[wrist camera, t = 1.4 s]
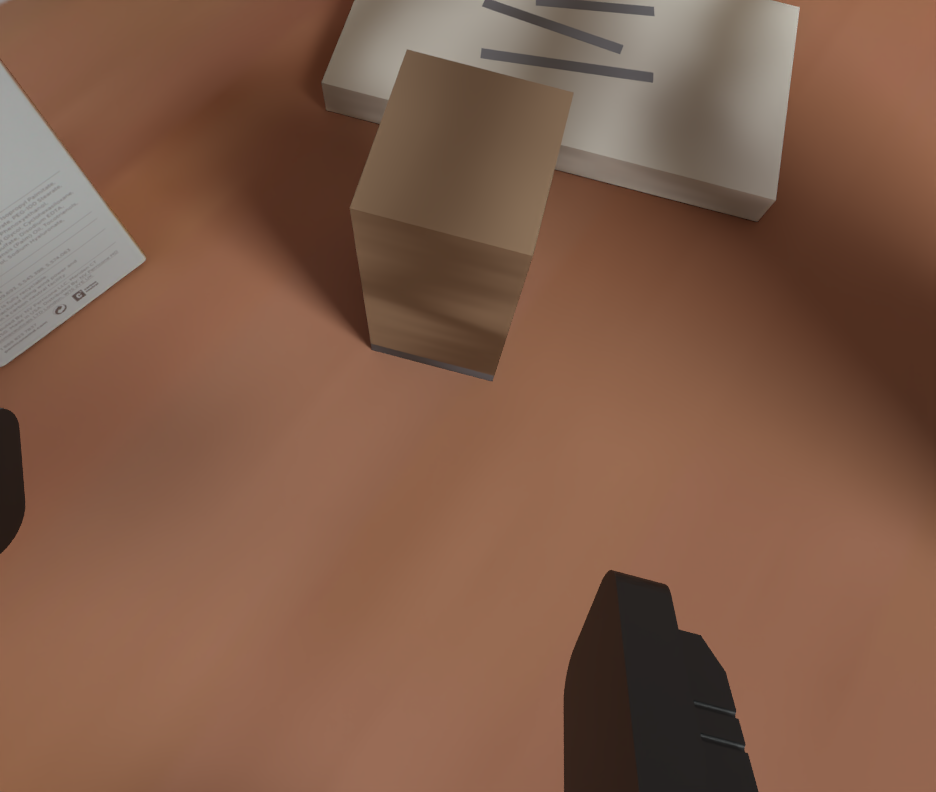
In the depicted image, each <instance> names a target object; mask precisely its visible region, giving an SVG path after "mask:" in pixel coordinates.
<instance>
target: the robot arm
mask: <svg viewBox="0 0 936 792" xmlns="http://www.w3.org/2000/svg"><path fill="white" fill-rule="evenodd" d="M24 512H25V494H24V481H23V468H22V455H21V443H20V430H19V423H18V420H17V418H16V416H15V415H14V414H13V413H12V412H11V411H9V410H7V409H3V408H0V554H1V553H2V552H3V551H4V550H5V549H6V548H7V547H8V545H9V544H10V543H11V542H12V540H13V539H14V537H15V536H16V534H17V532H18V530H19V528H20V526H21V523H22V520H23V517H24ZM735 713H736V708H735V705H734V701H733V697H732V694H731V690H730V686H729V683H728V679H727V675H726V672H725V671H724V669H723V668H722V666H721V665H720V663H719V662H718V660H717V659H716V657H715V656H714V654H713V653H712V651H711V650H710V648H709V647H708V646H707V644H706V643H705V641H704V640H703V638H702V637H701V635H697V634H693V633H690V632H686V631H682V630H678V625H677V621H676V616H675V611H674V606H673V602H672V597H671V593H670V590H669V588H668V586H667V585H665V584H662V583H658V582H655V581H651V580H647V579H643V578H639V577H636V576H632V575H628V574H624V573H620V572H617V571H613V570H610V571H608V572H607V573H606V575H605V576H604V578H603V580H602V582H601V584H600V587H599V589H598V592H597V594H596V596H595V599H594V601H593V604H592V606H591V608H590V611H589V613H588V616H587V618H586V621H585V623H584V625H583V628H582V630H581V633H580V635H579V637H578V640H577V642H576V645H575V647H574V650H573V652H572V655H571V658H570V662H569V666H568V670H567V675H566V681H565V689H564V792H758V789H757V785H756V781H755V778H754V774H753V770H752V767H751V763H750V759H749V756H748V753H745V751H744V747H745V741H744V737H743V734H742V730H741V727H740V723H739V719H736V718H735Z"/></svg>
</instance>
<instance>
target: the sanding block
mask: <svg viewBox="0 0 936 792" xmlns="http://www.w3.org/2000/svg"><path fill="white" fill-rule="evenodd" d="M573 94H574V92H570V91H566V90H562V89H558V88H555V87H551V86H547V85H543V84H539V83H535V82H531V81H527V80H524V79H520V78H516V77H512V76H508V75H504V74H500V73H497V72H493V71H489V70H485V69H481V68H477V67H473V66H470V65H466V64H462V63H458V62H454V61H450V60H446V59H443V58H439V57H435V56H431V55H427V54H423V53H419V52H415V51H412V50H408V49H407V50H406V53H405V56H404V59H403V61H402V64H401V67H400V70H399V72H398V75H397V78H396V81H395V84H394V86H393V89H392V92H391V95H390V97H389V100H388V103H387V106H386V109H385V111H384V114H383V117H382V120H381V122H380V125H379V128H378V131H377V134H376V136H375V139H374V142H373V145H372V147H371V150H370V153H369V156H368V159H367V161H366V164H365V167H364V170H363V172H362V175H361V178H360V181H359V184H358V186H357V189H356V192H355V195H354V197H353V200H352V203H351V206H350V214H351V220H352V226H353V233H354V239H355V246H356V252H357V258H358V265H359V271H360V277H361V284H362V290H363V297H364V303H365V309H366V316H367V322H368V328H369V335H370V341H371V348H372V350H374V351H378V352H382V353H386V354H390V355H393V356H397V357H401V358H405V359H409V360H412V361H416V362H420V363H424V364H428V365H431V366H435V367H439V368H443V369H447V370H450V371H454V372H458V373H462V374H466V375H469V376H473V377H477V378H481V379H485V380H488V381H493V378H494V375H495V372H496V369H497V365H498V362H499V359H500V356H501V353H502V350H503V347H504V344H505V341H506V338H507V335H508V331H509V328H510V325H511V322H512V319H513V316H514V313H515V310H516V307H517V304H518V300H519V297H520V294H521V291H522V288H523V285H524V282H525V279H526V276H527V273H528V270H529V266H530V263H531V260H532V257H533V254H534V250H535V246H536V242H537V238H538V234H539V230H540V226H541V222H542V218H543V214H544V210H545V206H546V202H547V198H548V194H549V190H550V186H551V182H552V178H553V174H554V170H555V166H556V162H557V158H558V154H559V150H560V146H561V142H562V138H563V134H564V130H565V126H566V122H567V118H568V114H569V110H570V106H571V102H572V98H573Z"/></svg>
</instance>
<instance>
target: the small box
mask: <svg viewBox="0 0 936 792" xmlns="http://www.w3.org/2000/svg"><path fill="white" fill-rule="evenodd" d="M145 260H146V256H145V254H144V253H143V252H142V250H141V249H140V247H139V246H138V245H137V243H136V242H135V240H134V239H133V238H132V236H131V235H130V234H129V232H128V231H127V230H126V228H125V227H124V225H123V224H122V223H121V221H120V220H119V219H118V217H117V216H116V215H115V213H114V212H113V211H112V209H111V208H110V207H109V205H108V204H107V203H106V202H105V200H104V199H103V198H102V196H101V195H100V194H99V193H98V191H97V190H96V189H95V187H94V186H93V185H92V183H91V182H90V181H89V179H88V178H87V177H86V175H85V174H84V172H83V171H82V170H81V168H80V167H79V165H78V164H77V163H76V161H75V160H74V159H73V157H72V156H71V154H70V153H69V152H68V150H67V149H66V147H65V146H64V145H63V143H62V142H61V140H60V139H59V138H58V136H57V135H56V134H55V132H54V131H53V129H52V128H51V127H50V125H49V124H48V123H47V121H46V120H45V119H44V117H43V116H42V114H41V113H40V112H39V110H38V109H37V108H36V106H35V105H34V104H33V102H32V101H31V99H30V98H29V97H28V95H27V94H26V93H25V91H24V90H23V89H22V87H21V86H20V85H19V83H18V82H17V80H16V79H15V78H14V76H13V75H12V74H11V72H10V71H9V70H8V68H7V67H6V66H5V64H4V63H3V61H2V60H1V59H0V367H2V366H4V365H6V364H8V363H9V362H10V361H12V360H13V359H14V358H16V357H17V356H18V355H20V354H21V353H23V352H24V351H25V350H27V349H28V348H29V347H31V346H32V345H33V344H35V343H36V342H37V341H39V340H40V339H42V338H43V337H44V336H46V335H47V334H48V333H50V332H51V331H52V330H54V329H55V328H56V327H58V326H59V325H60V324H62V323H63V322H65V321H66V320H67V319H69V318H70V317H71V316H72V315H74V314H75V313H77V312H78V311H79V310H81V309H82V308H83V307H85V306H86V305H87V304H89V303H90V302H91V301H93V300H94V299H95V298H97V297H98V296H99V295H101V294H102V293H104V292H105V291H106V290H107V289H109V288H110V287H111V286H113V285H114V284H115V283H117V282H118V281H119V280H121V279H122V278H123V277H125V276H126V275H127V274H129V273H130V272H131V271H133V270H134V269H135V268H137V267H138V266H139V265H141V264H142V263H143V262H144V261H145Z"/></svg>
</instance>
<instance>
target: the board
mask: <svg viewBox="0 0 936 792" xmlns="http://www.w3.org/2000/svg"><path fill="white" fill-rule="evenodd" d="M799 8H800V7H796V6H792V5H788V4H784V3H780V2H776V1H772V0H355V1H354V3H353V6H352V8H351V10H350V13H349V15H348V18H347V20H346V23H345V25H344V28H343V30H342V33H341V35H340V38H339V40H338V43H337V45H336V48H335V50H334V53H333V55H332V58H331V60H330V62H329V65H328V67H327V70H326V72H325V75H324V77H323V80H322V82H321V83H322V89H323V95H324V101H325V106H326V110H328V111H332V112H336V113H339V114H343V115H347V116H351V117H355V118H359V119H363V120H366V121H370V122H374V123H378V124H380V122H381V120H382V117H383V114H384V111H385V109H386V106H387V103H388V100H389V97H390V95H391V92H392V89H393V86H394V84H395V81H396V78H397V75H398V72H399V70H400V67H401V64H402V61H403V59H404V56H405V53H406V50H407V49H408V50H412V51H415V52H419V53H423V54H427V55H431V56H435V57H439V58H443V59H446V60H450V61H454V62H458V63H462V64H466V65H470V66H473V67H477V68H481V69H485V70H489V71H493V72H497V73H500V74H504V75H508V76H512V77H516V78H520V79H524V80H527V81H531V82H535V83H539V84H543V85H547V86H551V87H555V88H558V89H562V90H566V91H570V92H574V94H573V98H572V102H571V106H570V110H569V114H568V118H567V122H566V126H565V130H564V134H563V138H562V142H561V146H560V150H559V154H558V158H557V162H556V166H555V169H556V170H559V171H563V172H567V173H571V174H575V175H579V176H583V177H586V178H590V179H594V180H598V181H602V182H606V183H610V184H613V185H617V186H621V187H625V188H629V189H633V190H637V191H641V192H644V193H648V194H652V195H656V196H660V197H664V198H668V199H671V200H675V201H679V202H683V203H687V204H691V205H695V206H698V207H702V208H706V209H710V210H714V211H718V212H722V213H725V214H729V215H733V216H737V217H741V218H745V219H749V220H752V221H756V222H758V221H759V219H760V218H761V217H762V216H763V215H764V214H765V212H766V211H767V210H768V209H769V208H770V207H771V205H772V204H773V203H774V202H775V201H776V195H777V187H778V179H779V171H780V163H781V155H782V146H783V138H784V130H785V122H786V114H787V106H788V98H789V90H790V81H791V73H792V65H793V57H794V49H795V41H796V33H797V25H798V16H799Z"/></svg>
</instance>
